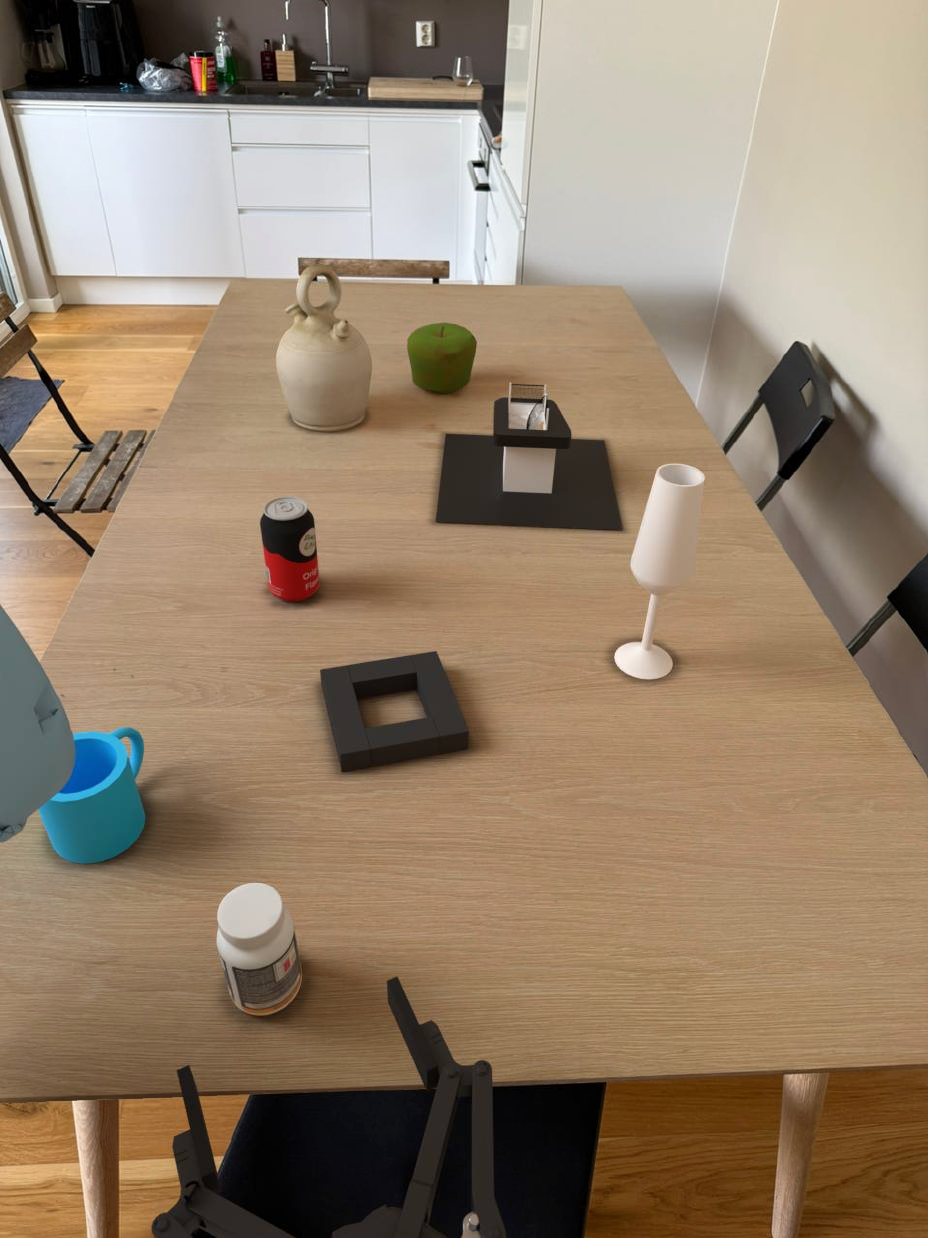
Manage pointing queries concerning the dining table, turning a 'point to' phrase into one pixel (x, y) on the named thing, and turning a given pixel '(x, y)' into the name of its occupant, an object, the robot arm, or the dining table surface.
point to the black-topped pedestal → (527, 471)
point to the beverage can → (290, 549)
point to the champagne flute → (663, 558)
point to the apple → (441, 357)
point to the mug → (98, 799)
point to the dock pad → (397, 739)
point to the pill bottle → (258, 949)
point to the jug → (323, 361)
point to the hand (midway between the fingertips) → (293, 1031)
